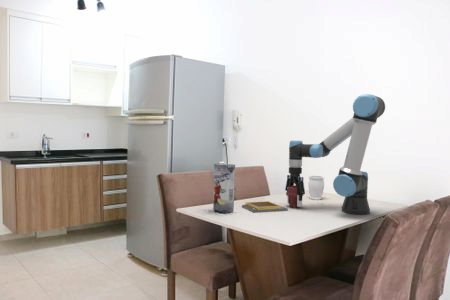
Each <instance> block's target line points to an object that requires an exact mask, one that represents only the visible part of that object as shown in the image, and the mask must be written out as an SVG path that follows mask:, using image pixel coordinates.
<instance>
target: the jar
mask: <svg viewBox="0 0 450 300" xmlns="http://www.w3.org/2000/svg"><path fill="white" fill-rule="evenodd" d="M324 179H325V177H324V176H321V175H309V176H308V183H307V188H308V194H309V199H310V200H314V201H315V200H316V201H317V200H320V199H321V200H322V199H323V197H322V196H323V194H324V189H325V182H324V181H325V180H324Z"/></svg>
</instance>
